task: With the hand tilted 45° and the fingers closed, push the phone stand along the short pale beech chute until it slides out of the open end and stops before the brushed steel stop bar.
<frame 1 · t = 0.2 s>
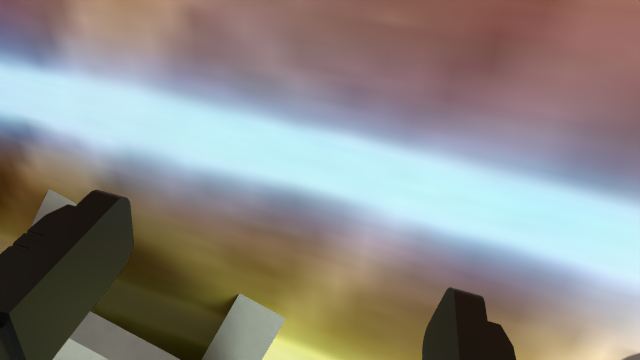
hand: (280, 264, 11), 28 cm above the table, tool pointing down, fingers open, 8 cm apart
small white table: (141, 324, 61), on the table
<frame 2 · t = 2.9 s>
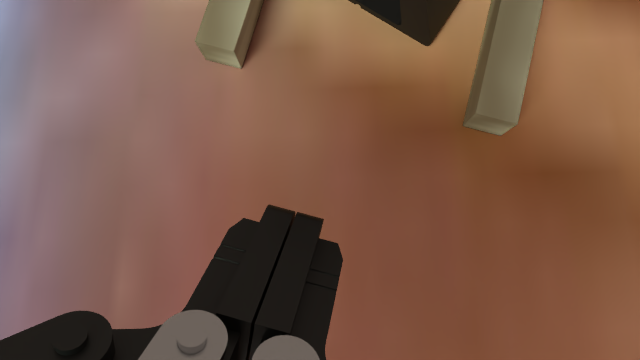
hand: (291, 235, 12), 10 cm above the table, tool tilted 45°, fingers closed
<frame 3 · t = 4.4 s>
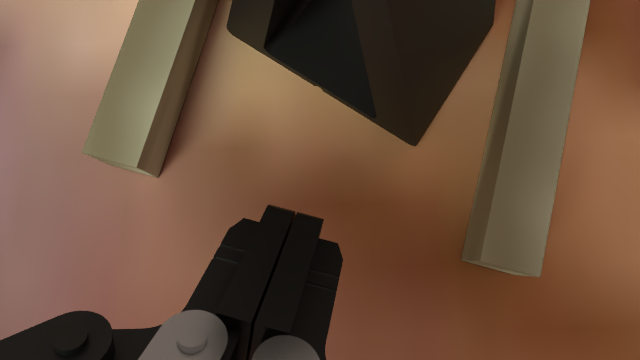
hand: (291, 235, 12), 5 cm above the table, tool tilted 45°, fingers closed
phone stand: (358, 34, 18), on the table
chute: (352, 52, 18), on the table
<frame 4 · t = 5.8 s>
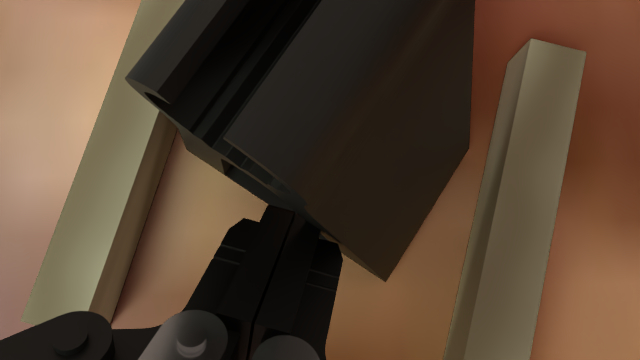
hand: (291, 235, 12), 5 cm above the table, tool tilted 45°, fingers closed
phone stand: (327, 152, 17), on the table, touching gripper
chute: (318, 188, 17), on the table
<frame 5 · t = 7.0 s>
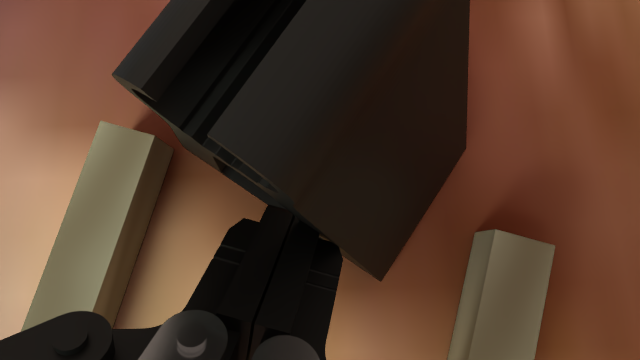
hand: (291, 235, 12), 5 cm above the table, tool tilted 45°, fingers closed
phone stand: (324, 151, 17), on the table, touching gripper
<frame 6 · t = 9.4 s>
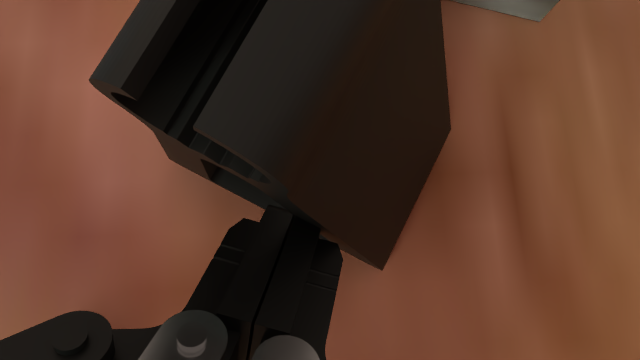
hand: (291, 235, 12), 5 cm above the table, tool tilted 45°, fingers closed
phone stand: (311, 148, 17), on the table, touching gripper
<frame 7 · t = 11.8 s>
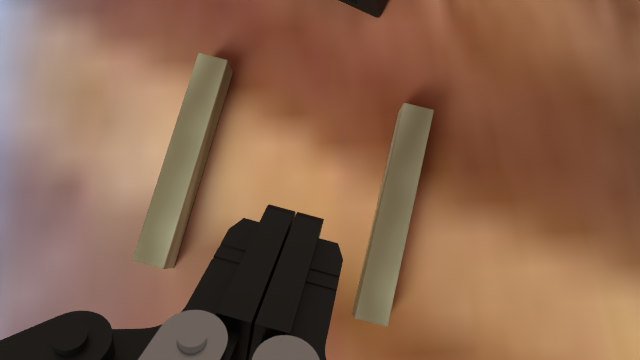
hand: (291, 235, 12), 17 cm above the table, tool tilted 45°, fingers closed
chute: (289, 187, 29), on the table
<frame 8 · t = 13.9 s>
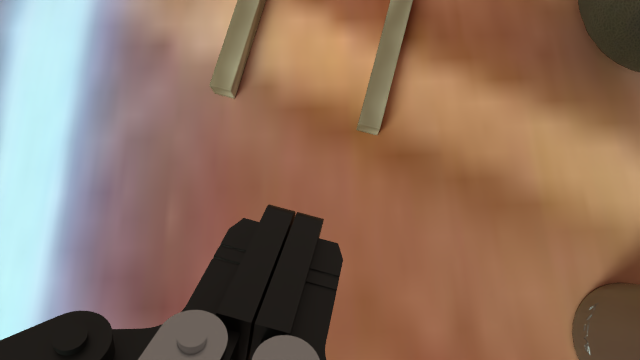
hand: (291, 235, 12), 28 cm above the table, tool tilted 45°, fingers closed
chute: (314, 47, 43), on the table
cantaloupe: (613, 34, 43), on the table
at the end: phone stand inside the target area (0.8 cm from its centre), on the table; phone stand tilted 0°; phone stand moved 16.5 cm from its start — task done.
